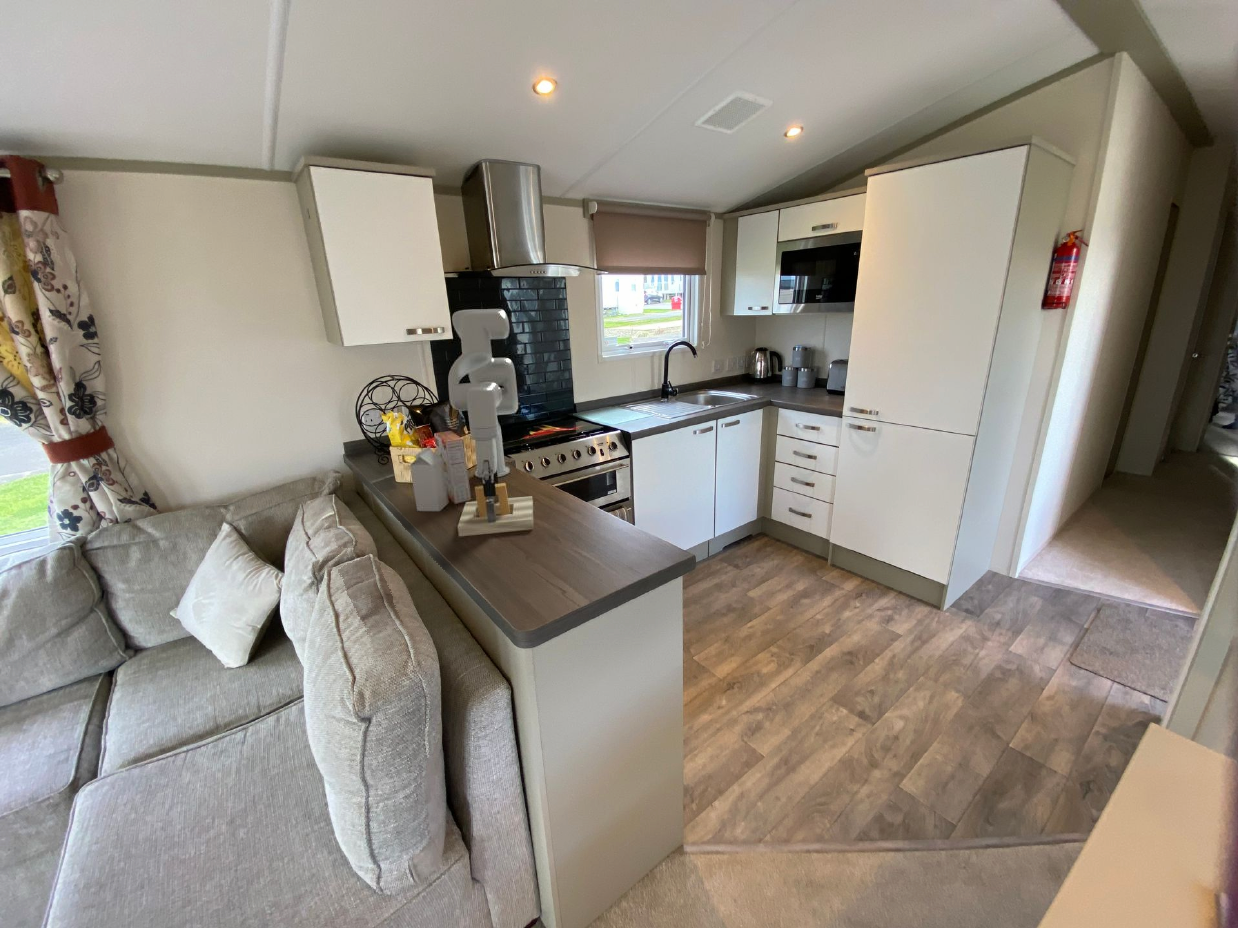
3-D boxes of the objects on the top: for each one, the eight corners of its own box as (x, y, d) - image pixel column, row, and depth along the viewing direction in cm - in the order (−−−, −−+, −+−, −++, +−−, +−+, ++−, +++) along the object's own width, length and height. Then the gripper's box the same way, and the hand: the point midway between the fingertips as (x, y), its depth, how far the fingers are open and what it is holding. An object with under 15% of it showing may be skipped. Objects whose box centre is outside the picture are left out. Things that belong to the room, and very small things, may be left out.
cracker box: (442, 492, 168) (433, 432, 162) (460, 488, 171) (451, 430, 165) (453, 505, 157) (444, 441, 150) (472, 500, 160) (463, 438, 153)
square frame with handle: (467, 511, 151) (463, 485, 149) (533, 505, 154) (530, 479, 152) (459, 536, 134) (454, 507, 132) (533, 529, 137) (530, 500, 135)
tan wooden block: (480, 516, 144) (475, 486, 141) (510, 512, 145) (505, 482, 142) (480, 520, 142) (474, 489, 139) (509, 515, 143) (505, 485, 140)
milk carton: (449, 503, 158) (440, 446, 153) (439, 511, 152) (430, 452, 146) (427, 503, 159) (418, 446, 153) (417, 511, 152) (407, 452, 147)
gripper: (474, 425, 144) (481, 481, 149) (466, 441, 128) (474, 502, 133) (500, 424, 145) (506, 479, 150) (496, 438, 129) (503, 499, 134)
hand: (491, 489), depth 142 cm, fingers open, 9 cm apart
